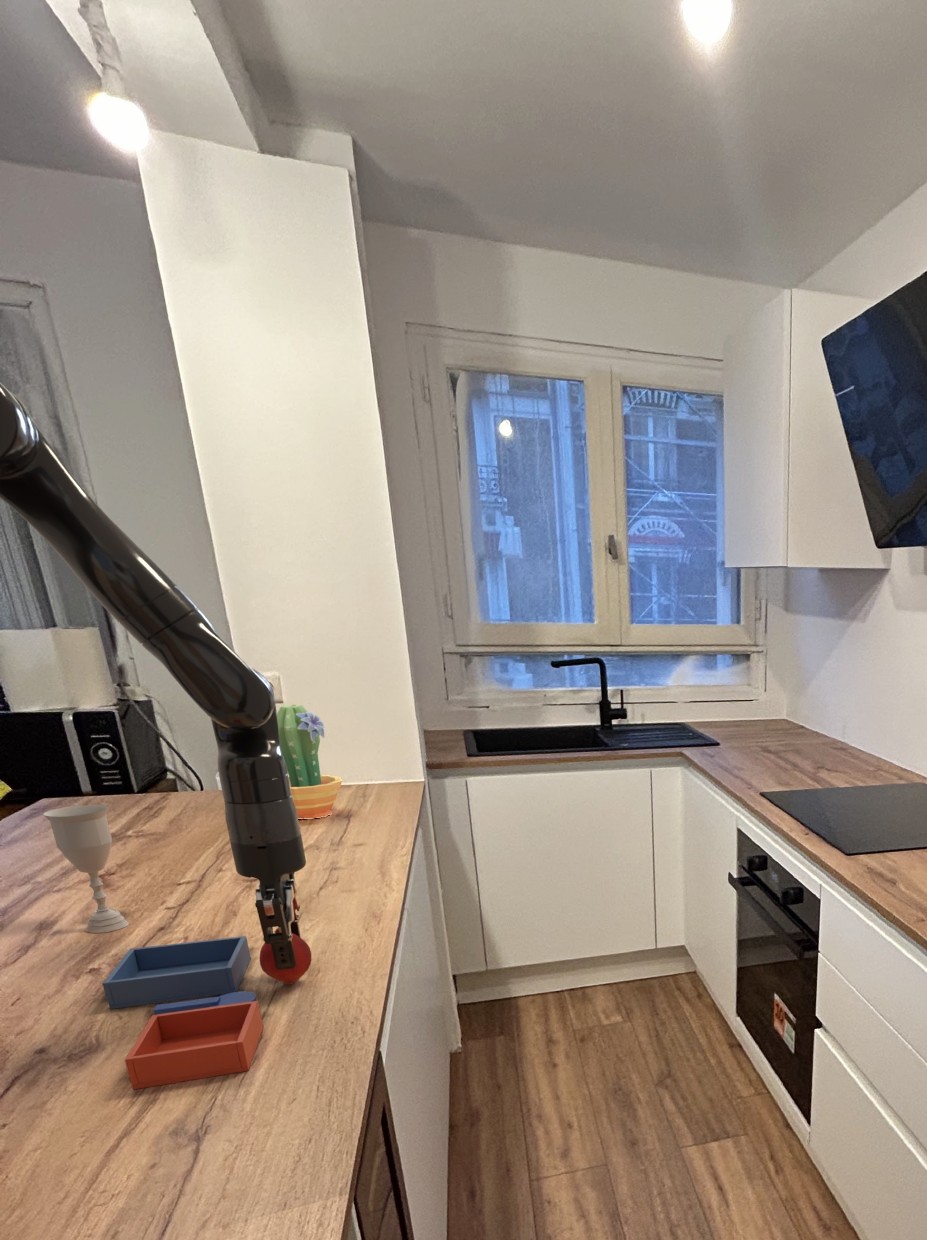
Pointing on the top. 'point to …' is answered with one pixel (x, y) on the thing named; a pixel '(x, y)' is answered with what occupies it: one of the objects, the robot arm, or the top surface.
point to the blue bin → (177, 972)
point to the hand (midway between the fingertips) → (289, 957)
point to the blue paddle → (206, 1002)
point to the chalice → (87, 854)
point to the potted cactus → (305, 762)
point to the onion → (286, 975)
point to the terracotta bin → (195, 1044)
